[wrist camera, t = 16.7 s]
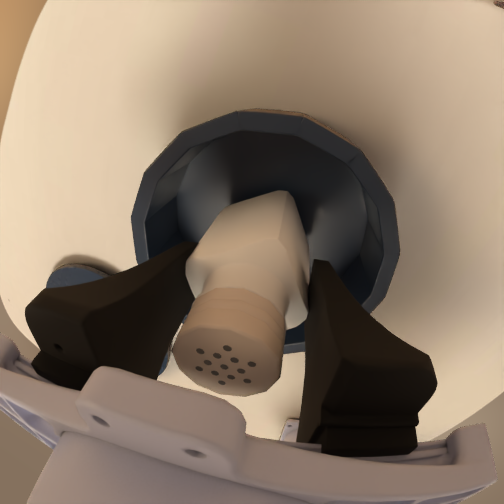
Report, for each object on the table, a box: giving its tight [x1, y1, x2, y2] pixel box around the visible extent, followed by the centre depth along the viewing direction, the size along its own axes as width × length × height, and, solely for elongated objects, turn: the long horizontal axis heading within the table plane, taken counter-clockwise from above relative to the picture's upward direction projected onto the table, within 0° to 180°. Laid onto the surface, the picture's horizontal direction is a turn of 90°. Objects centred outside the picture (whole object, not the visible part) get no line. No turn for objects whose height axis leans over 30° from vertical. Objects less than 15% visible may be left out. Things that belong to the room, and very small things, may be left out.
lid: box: [46, 264, 170, 376], centre depth 23 cm, size 14×14×5 cm
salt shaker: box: [172, 190, 309, 397], centre depth 12 cm, size 4×4×10 cm
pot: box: [131, 109, 400, 354], centre depth 15 cm, size 13×13×4 cm
